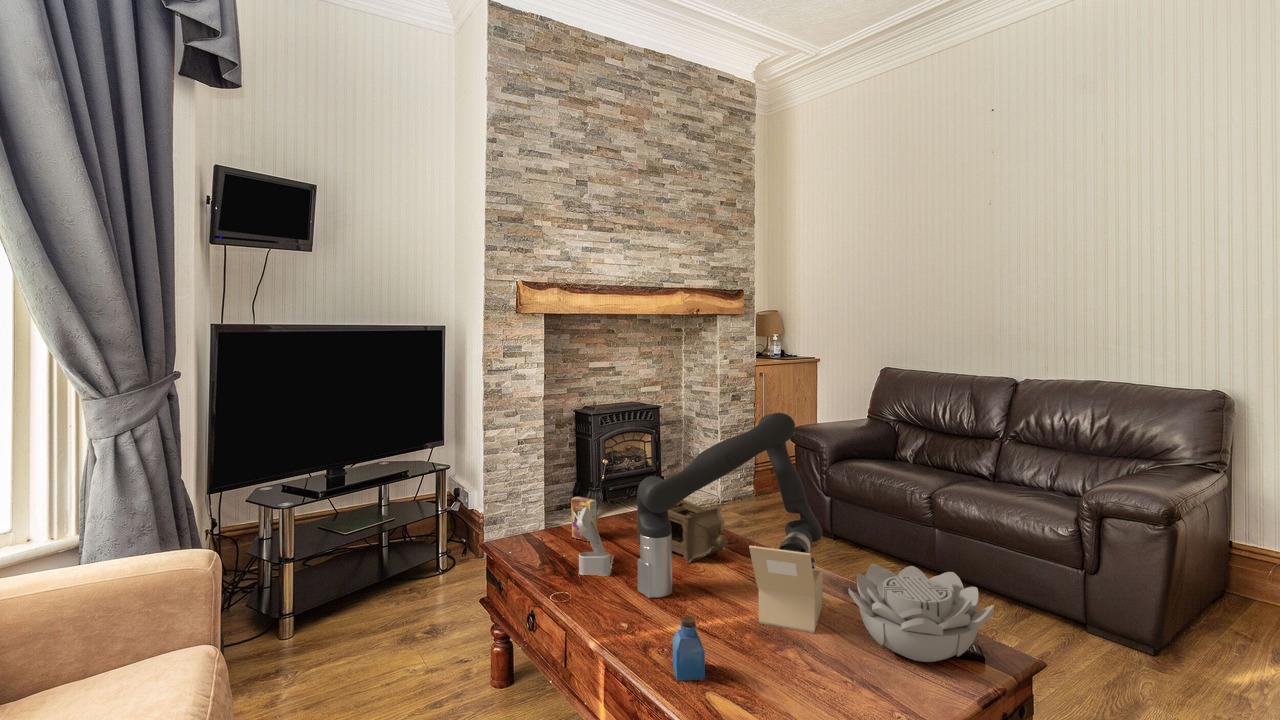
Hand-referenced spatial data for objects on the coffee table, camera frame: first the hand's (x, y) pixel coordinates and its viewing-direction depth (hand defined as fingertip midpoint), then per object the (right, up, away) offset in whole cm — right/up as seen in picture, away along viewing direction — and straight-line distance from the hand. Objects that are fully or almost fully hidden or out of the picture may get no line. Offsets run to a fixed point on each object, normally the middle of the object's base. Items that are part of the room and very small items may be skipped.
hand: (784, 572), depth 150 cm
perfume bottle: (-25, -17, -15) cm, 34 cm away
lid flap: (-1, +1, -1) cm, 1 cm away
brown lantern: (-19, -14, +59) cm, 63 cm away
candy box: (-56, -13, +72) cm, 92 cm away
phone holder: (-50, -14, +46) cm, 70 cm away
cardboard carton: (+5, -15, +11) cm, 20 cm away
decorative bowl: (+29, -16, -7) cm, 33 cm away
